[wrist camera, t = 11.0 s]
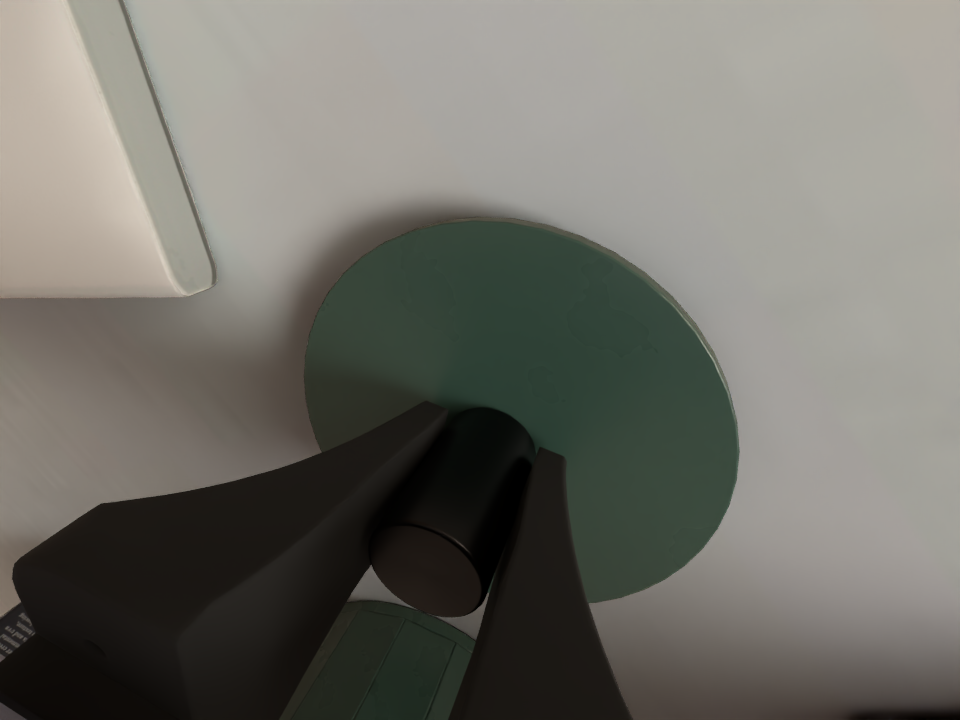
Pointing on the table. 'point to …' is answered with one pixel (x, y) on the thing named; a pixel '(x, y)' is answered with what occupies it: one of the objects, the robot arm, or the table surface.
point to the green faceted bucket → (383, 667)
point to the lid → (525, 404)
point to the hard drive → (89, 162)
